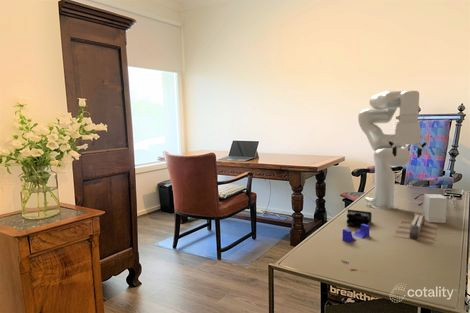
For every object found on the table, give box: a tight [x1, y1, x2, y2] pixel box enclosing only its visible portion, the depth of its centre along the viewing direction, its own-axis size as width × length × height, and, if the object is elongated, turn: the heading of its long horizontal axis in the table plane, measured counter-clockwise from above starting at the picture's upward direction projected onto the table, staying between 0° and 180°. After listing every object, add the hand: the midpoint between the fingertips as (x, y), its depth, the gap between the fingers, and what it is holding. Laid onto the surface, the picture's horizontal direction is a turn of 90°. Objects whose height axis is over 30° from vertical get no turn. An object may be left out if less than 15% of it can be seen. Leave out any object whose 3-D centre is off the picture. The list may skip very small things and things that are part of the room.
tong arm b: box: [417, 213, 426, 236], centre depth 141 cm, size 19×2×4 cm, turn 147°
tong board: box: [393, 218, 439, 244], centre depth 140 cm, size 24×14×6 cm, turn 146°
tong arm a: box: [411, 213, 420, 225], centre depth 142 cm, size 19×2×4 cm, turn 145°
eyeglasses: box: [414, 193, 457, 208], centre depth 184 cm, size 16×19×5 cm
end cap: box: [346, 208, 373, 229], centre depth 152 cm, size 10×7×7 cm
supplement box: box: [422, 193, 448, 223], centre depth 153 cm, size 7×7×13 cm
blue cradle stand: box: [342, 224, 371, 243], centre depth 134 cm, size 12×4×6 cm, turn 120°
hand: (406, 156), depth 153 cm, fingers open, 9 cm apart
